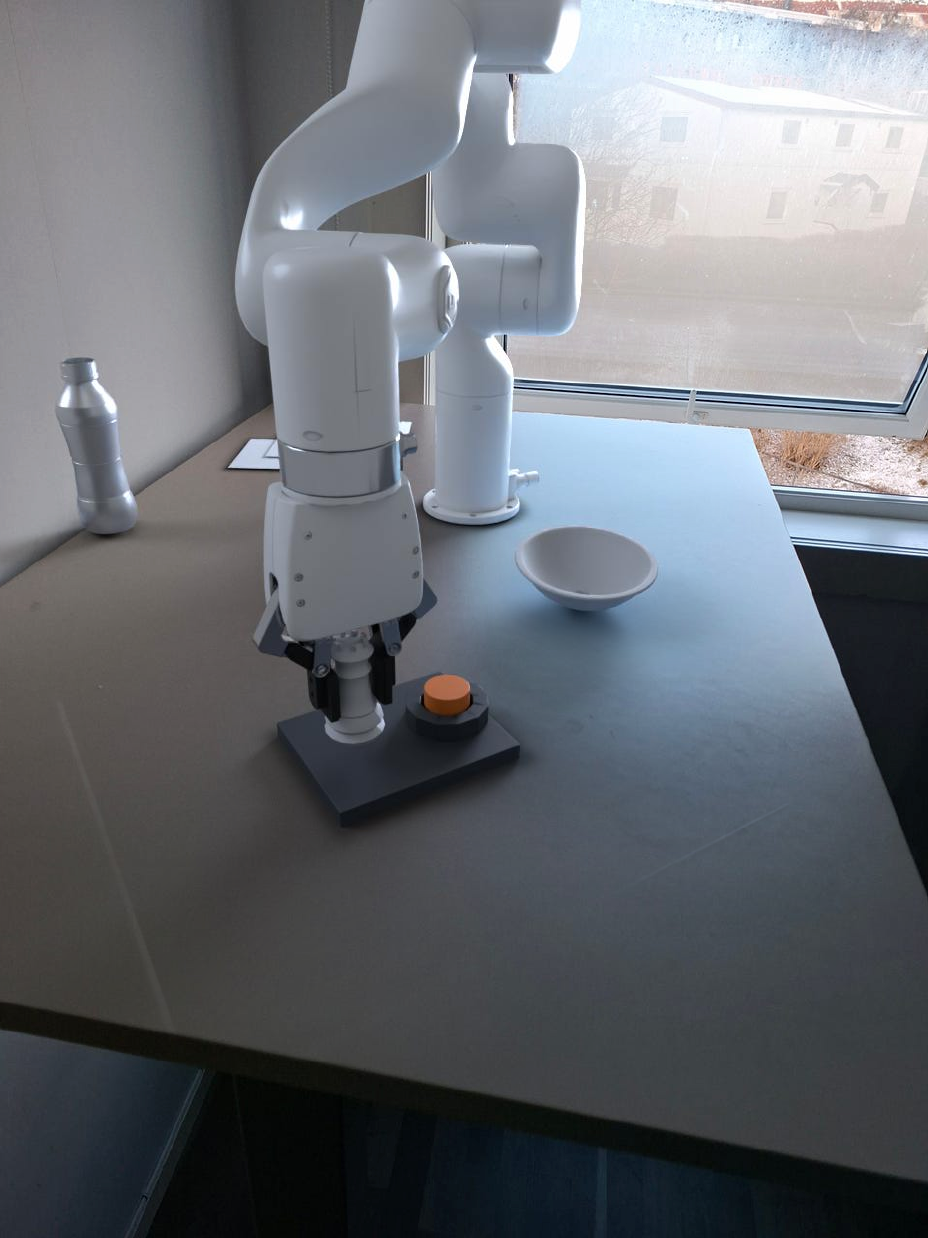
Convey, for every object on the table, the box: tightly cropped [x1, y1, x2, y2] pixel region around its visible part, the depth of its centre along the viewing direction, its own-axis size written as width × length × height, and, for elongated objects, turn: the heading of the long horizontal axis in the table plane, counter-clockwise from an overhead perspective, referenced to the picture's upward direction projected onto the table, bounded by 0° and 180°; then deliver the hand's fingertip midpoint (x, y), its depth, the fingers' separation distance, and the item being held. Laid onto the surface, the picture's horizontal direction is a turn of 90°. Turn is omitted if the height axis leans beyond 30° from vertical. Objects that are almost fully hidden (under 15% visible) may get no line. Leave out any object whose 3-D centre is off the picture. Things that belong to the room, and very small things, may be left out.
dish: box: [514, 524, 659, 612], centre depth 86 cm, size 18×14×5 cm
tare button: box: [424, 674, 470, 715], centre depth 66 cm, size 4×4×2 cm
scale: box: [276, 671, 521, 828], centre depth 65 cm, size 15×12×3 cm
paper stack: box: [227, 421, 412, 470], centre depth 131 cm, size 23×25×1 cm
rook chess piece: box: [325, 629, 385, 746], centre depth 61 cm, size 4×4×8 cm
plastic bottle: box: [54, 356, 138, 535], centre depth 97 cm, size 6×7×20 cm
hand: (353, 701), depth 61 cm, fingers closed on rook chess piece, 3 cm apart
